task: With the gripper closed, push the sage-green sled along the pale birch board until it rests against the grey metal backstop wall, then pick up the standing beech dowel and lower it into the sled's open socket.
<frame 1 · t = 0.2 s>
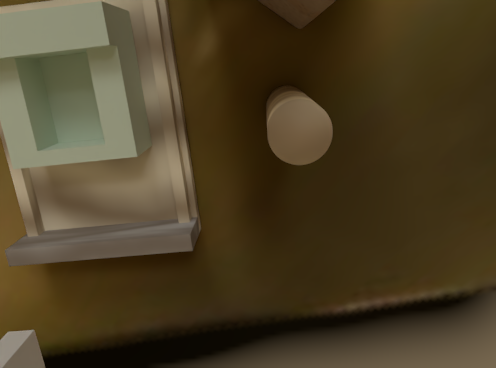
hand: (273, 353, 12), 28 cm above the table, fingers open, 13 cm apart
dowel: (286, 106, 37), on the table
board: (96, 126, 38), on the table
sled: (67, 90, 33), point 4 cm above the table, slide at 0.0 cm
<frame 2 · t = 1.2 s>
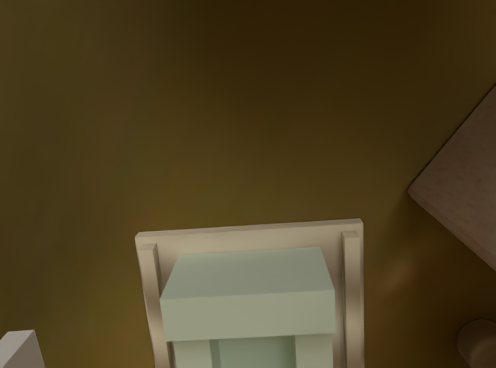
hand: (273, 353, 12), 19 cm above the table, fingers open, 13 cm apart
dowel: (479, 339, 33), on the table
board: (258, 350, 33), on the table
sled: (254, 344, 29), point 4 cm above the table, slide at 0.0 cm
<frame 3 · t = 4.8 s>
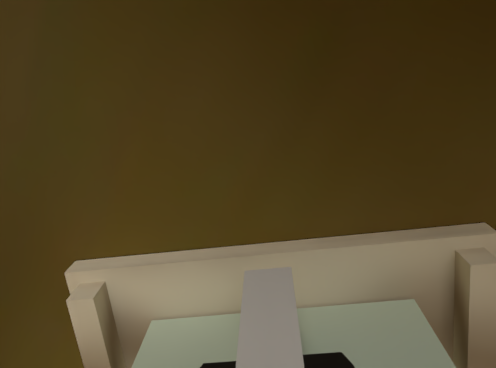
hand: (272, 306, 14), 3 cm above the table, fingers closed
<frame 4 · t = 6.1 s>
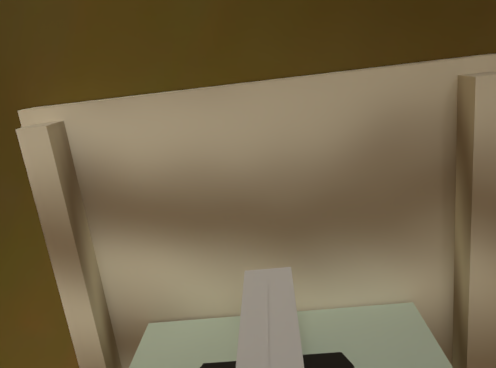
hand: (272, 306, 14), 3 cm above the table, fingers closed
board: (281, 339, 18), on the table
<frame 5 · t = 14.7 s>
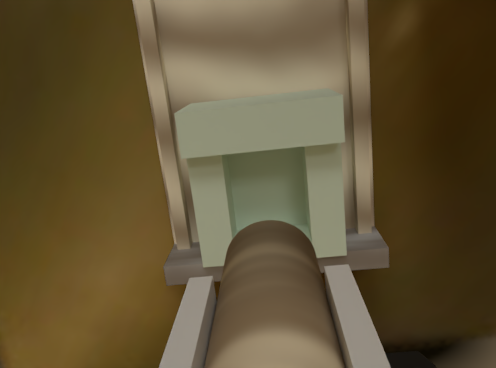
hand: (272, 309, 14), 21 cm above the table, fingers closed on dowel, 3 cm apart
dowel: (270, 262, 17), point 17 cm above the table, touching gripper
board: (261, 121, 32), on the table
sled: (266, 179, 29), point 4 cm above the table, slide at 7.0 cm, touching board
when the fingers open (7 cm above the table, at t = 17.4 s): dowel drops 1 cm, resting on sled.
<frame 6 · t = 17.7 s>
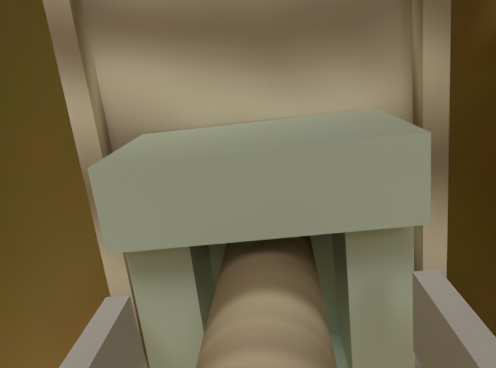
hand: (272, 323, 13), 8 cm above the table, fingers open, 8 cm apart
dowel: (269, 244, 19), point 2 cm above the table, touching sled
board: (262, 161, 20), on the table
sled: (271, 271, 17), point 4 cm above the table, slide at 7.0 cm, touching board, dowel
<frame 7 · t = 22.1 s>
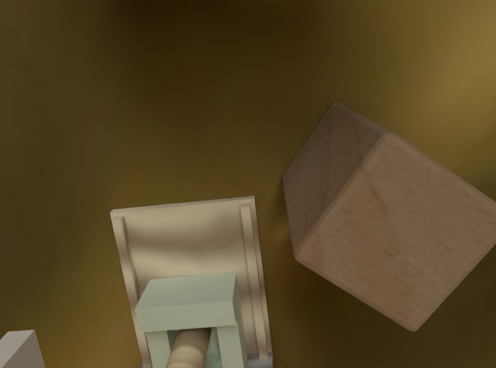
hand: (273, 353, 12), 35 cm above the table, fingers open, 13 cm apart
dowel: (197, 320, 49), point 2 cm above the table, touching sled
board: (196, 286, 50), on the table
wooden block: (344, 163, 46), on the table
sled: (195, 333, 47), point 4 cm above the table, slide at 7.0 cm, touching dowel
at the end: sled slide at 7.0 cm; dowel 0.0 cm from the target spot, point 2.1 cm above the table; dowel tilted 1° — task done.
